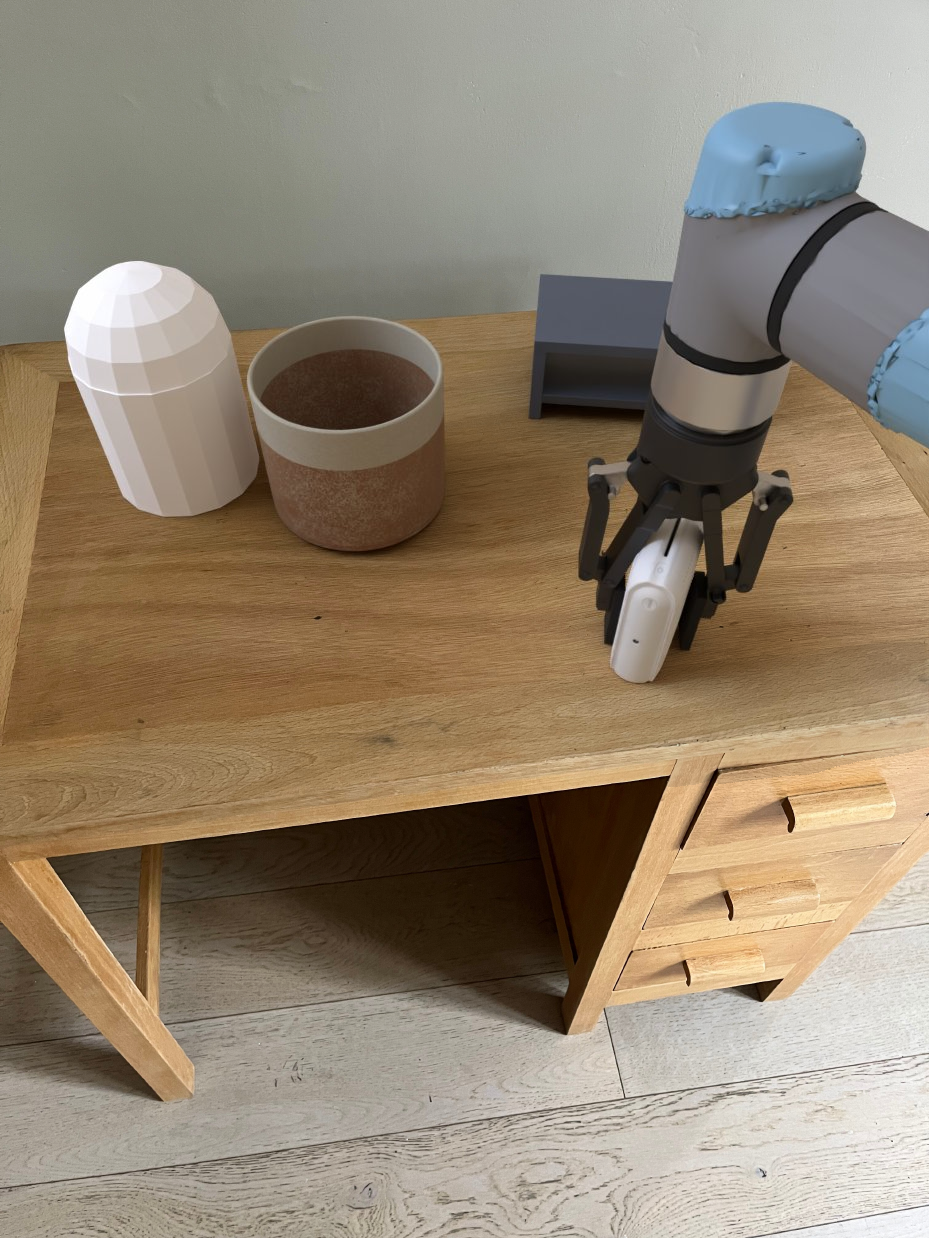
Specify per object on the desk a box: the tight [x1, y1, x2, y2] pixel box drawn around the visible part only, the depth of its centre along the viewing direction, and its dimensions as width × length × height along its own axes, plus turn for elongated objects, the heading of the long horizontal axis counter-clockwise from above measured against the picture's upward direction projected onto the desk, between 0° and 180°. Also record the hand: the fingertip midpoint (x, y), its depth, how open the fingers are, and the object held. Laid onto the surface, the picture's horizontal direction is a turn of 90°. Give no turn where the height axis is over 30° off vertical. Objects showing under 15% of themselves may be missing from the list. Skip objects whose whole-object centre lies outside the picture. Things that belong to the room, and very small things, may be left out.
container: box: [63, 260, 260, 518], centre depth 75 cm, size 14×13×20 cm
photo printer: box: [609, 518, 704, 684], centre depth 65 cm, size 10×4×12 cm, turn 157°
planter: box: [246, 315, 446, 552], centre depth 75 cm, size 16×16×14 cm
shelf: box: [528, 273, 673, 420], centre depth 87 cm, size 20×12×9 cm, turn 84°
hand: (646, 633), depth 70 cm, fingers closed on photo printer, 5 cm apart
